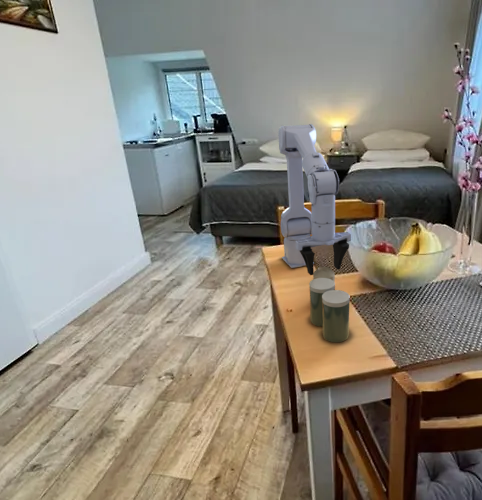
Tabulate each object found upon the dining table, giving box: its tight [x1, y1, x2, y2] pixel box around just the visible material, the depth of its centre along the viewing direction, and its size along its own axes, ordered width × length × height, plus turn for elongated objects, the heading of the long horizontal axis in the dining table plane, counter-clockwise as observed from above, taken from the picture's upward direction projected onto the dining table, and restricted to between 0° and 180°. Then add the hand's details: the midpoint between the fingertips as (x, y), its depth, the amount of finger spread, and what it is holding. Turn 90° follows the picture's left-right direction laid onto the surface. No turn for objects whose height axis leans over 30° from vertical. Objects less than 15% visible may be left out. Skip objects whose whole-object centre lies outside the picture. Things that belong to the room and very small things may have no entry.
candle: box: [312, 266, 336, 283], centre depth 100 cm, size 6×6×10 cm
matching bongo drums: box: [308, 278, 351, 343], centre depth 90 cm, size 13×6×10 cm, turn 23°
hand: (324, 270), depth 100 cm, fingers open, 7 cm apart
